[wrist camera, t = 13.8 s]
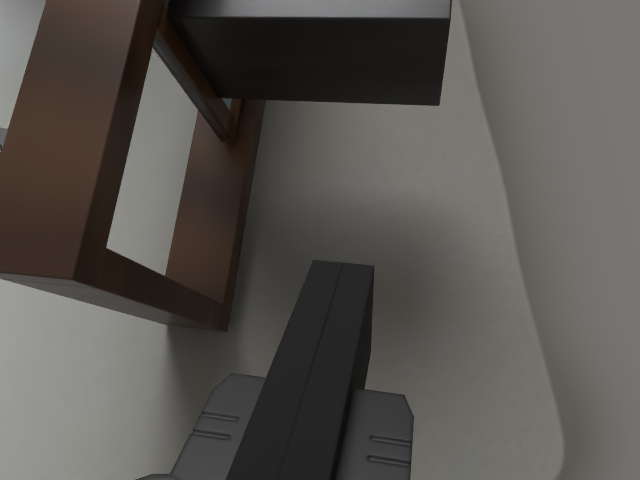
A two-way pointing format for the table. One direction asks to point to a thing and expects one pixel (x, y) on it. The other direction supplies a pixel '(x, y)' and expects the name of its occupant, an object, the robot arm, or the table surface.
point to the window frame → (114, 174)
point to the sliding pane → (303, 52)
